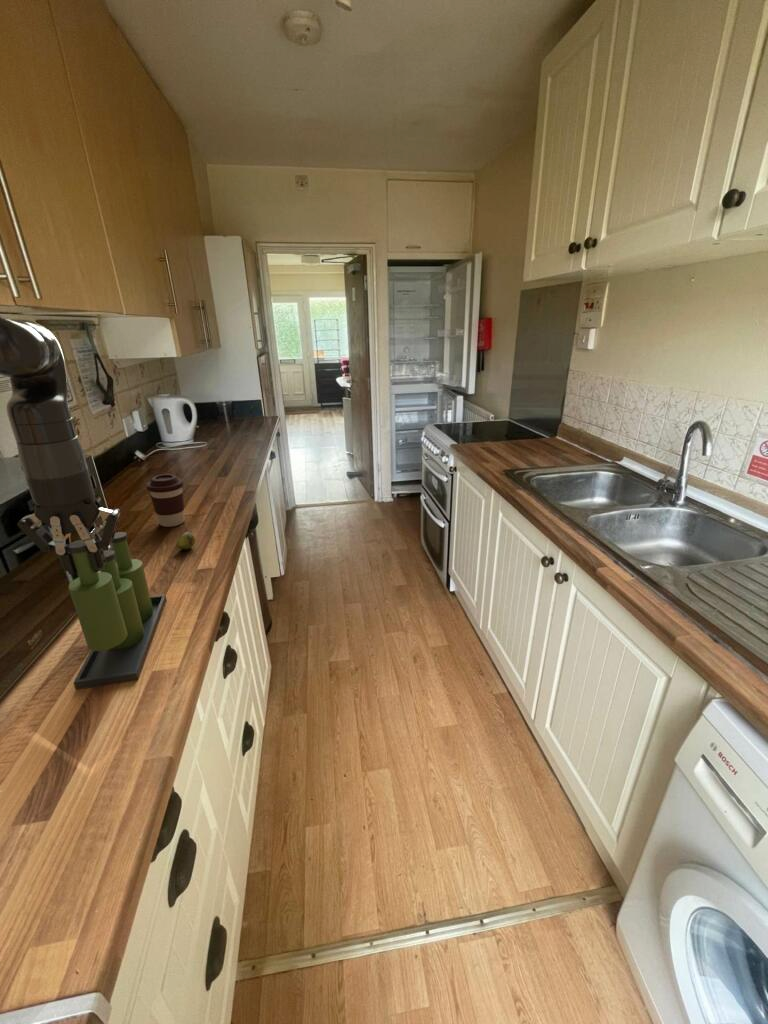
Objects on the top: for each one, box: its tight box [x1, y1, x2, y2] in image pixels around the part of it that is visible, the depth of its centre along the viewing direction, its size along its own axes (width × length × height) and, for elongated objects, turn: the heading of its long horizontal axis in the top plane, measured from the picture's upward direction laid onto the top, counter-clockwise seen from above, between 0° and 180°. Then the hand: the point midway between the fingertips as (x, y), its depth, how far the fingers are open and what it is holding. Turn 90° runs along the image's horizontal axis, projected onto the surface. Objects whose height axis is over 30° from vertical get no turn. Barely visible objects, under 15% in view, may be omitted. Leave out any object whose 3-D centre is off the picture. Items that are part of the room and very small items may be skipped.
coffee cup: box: [146, 473, 186, 528], centre depth 131 cm, size 10×10×15 cm
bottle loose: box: [67, 539, 127, 651], centre depth 71 cm, size 6×6×19 cm
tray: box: [73, 594, 168, 691], centre depth 84 cm, size 24×10×2 cm, turn 14°
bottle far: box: [110, 531, 154, 622], centre depth 87 cm, size 6×6×19 cm
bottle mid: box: [100, 549, 145, 649], centre depth 80 cm, size 6×6×19 cm
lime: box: [176, 531, 196, 551], centre depth 118 cm, size 4×5×5 cm
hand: (86, 570), depth 69 cm, fingers closed on bottle loose, 3 cm apart
